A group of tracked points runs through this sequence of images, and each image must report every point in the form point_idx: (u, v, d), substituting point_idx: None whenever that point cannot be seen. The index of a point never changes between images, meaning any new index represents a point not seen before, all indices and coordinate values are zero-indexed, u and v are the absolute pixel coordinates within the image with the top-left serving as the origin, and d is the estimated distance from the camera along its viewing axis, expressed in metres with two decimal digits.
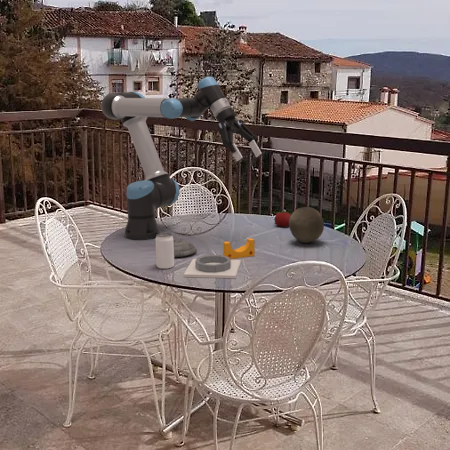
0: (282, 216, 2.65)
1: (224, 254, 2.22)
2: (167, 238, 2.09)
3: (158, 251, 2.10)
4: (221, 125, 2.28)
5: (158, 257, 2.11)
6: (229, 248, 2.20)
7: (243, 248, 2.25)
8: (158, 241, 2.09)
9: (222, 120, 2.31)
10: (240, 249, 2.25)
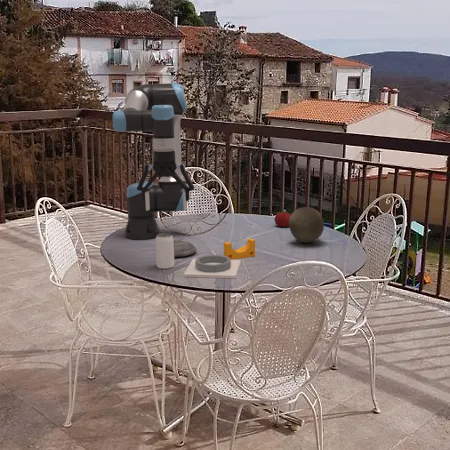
0: (282, 216, 2.65)
1: (225, 254, 2.21)
2: (167, 238, 2.09)
3: (158, 251, 2.10)
4: None
5: (158, 257, 2.11)
6: (230, 248, 2.20)
7: (244, 248, 2.24)
8: (158, 241, 2.09)
9: None
10: (241, 249, 2.25)
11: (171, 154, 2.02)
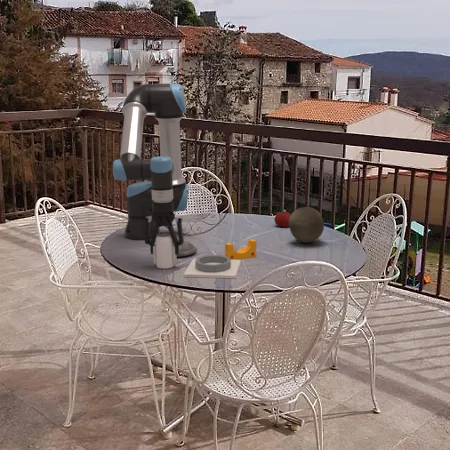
0: (282, 216, 2.65)
1: (226, 255, 2.20)
2: (167, 238, 2.09)
3: (158, 251, 2.10)
4: None
5: (158, 257, 2.11)
6: (231, 249, 2.19)
7: (245, 249, 2.23)
8: (158, 240, 2.09)
9: None
10: (242, 250, 2.24)
11: (169, 205, 2.06)
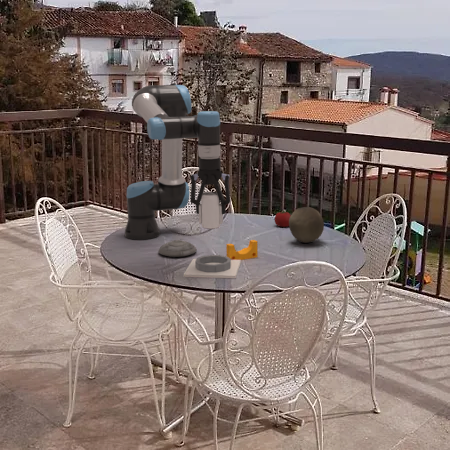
0: (282, 216, 2.65)
1: (228, 256, 2.19)
2: (214, 196, 2.01)
3: (204, 210, 2.02)
4: None
5: (204, 216, 2.03)
6: (233, 250, 2.18)
7: (246, 250, 2.23)
8: (204, 199, 2.01)
9: None
10: (243, 251, 2.23)
11: (217, 161, 1.98)
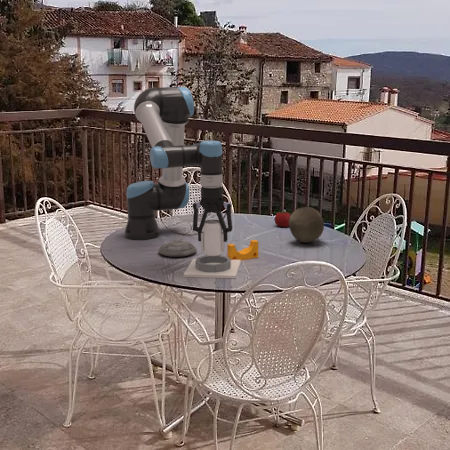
0: (282, 216, 2.65)
1: (229, 256, 2.19)
2: (216, 224, 2.03)
3: (206, 238, 2.04)
4: None
5: (206, 244, 2.05)
6: (234, 250, 2.17)
7: (247, 250, 2.23)
8: (206, 227, 2.03)
9: (201, 196, 2.04)
10: (244, 251, 2.23)
11: (219, 190, 2.00)
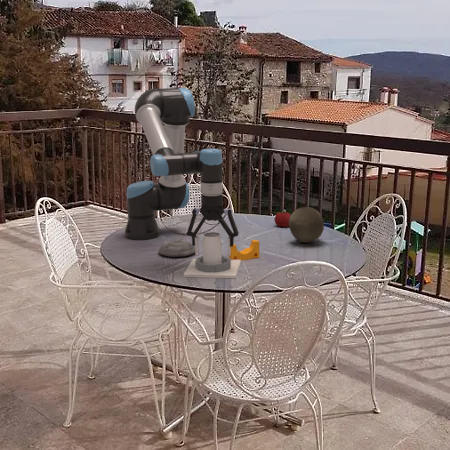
0: (282, 216, 2.65)
1: (229, 256, 2.19)
2: (215, 238, 2.05)
3: (206, 251, 2.06)
4: None
5: (206, 257, 2.06)
6: (234, 250, 2.17)
7: (248, 250, 2.22)
8: (206, 240, 2.05)
9: (201, 204, 2.04)
10: (245, 251, 2.23)
11: (219, 198, 2.01)
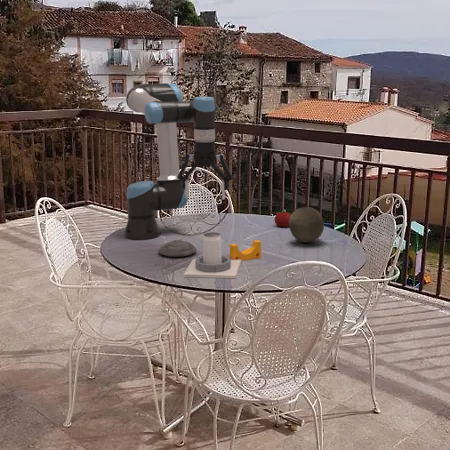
0: (282, 216, 2.65)
1: (231, 256, 2.19)
2: (215, 238, 2.05)
3: (206, 251, 2.06)
4: None
5: (206, 257, 2.06)
6: (236, 250, 2.17)
7: (249, 250, 2.22)
8: (206, 240, 2.05)
9: None
10: (246, 251, 2.23)
11: (211, 145, 2.09)
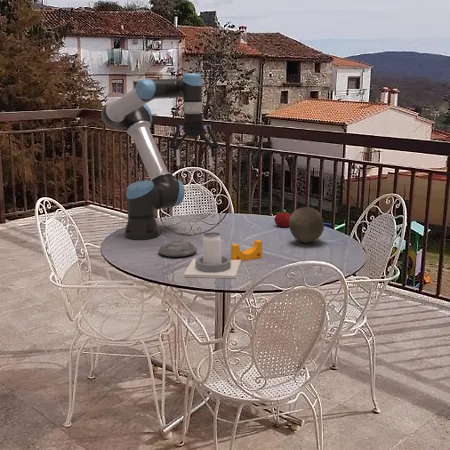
0: (282, 216, 2.65)
1: (232, 257, 2.18)
2: (215, 238, 2.05)
3: (206, 251, 2.06)
4: None
5: (206, 257, 2.06)
6: (237, 250, 2.17)
7: (251, 250, 2.22)
8: (206, 240, 2.05)
9: None
10: (247, 251, 2.22)
11: (199, 116, 2.34)
